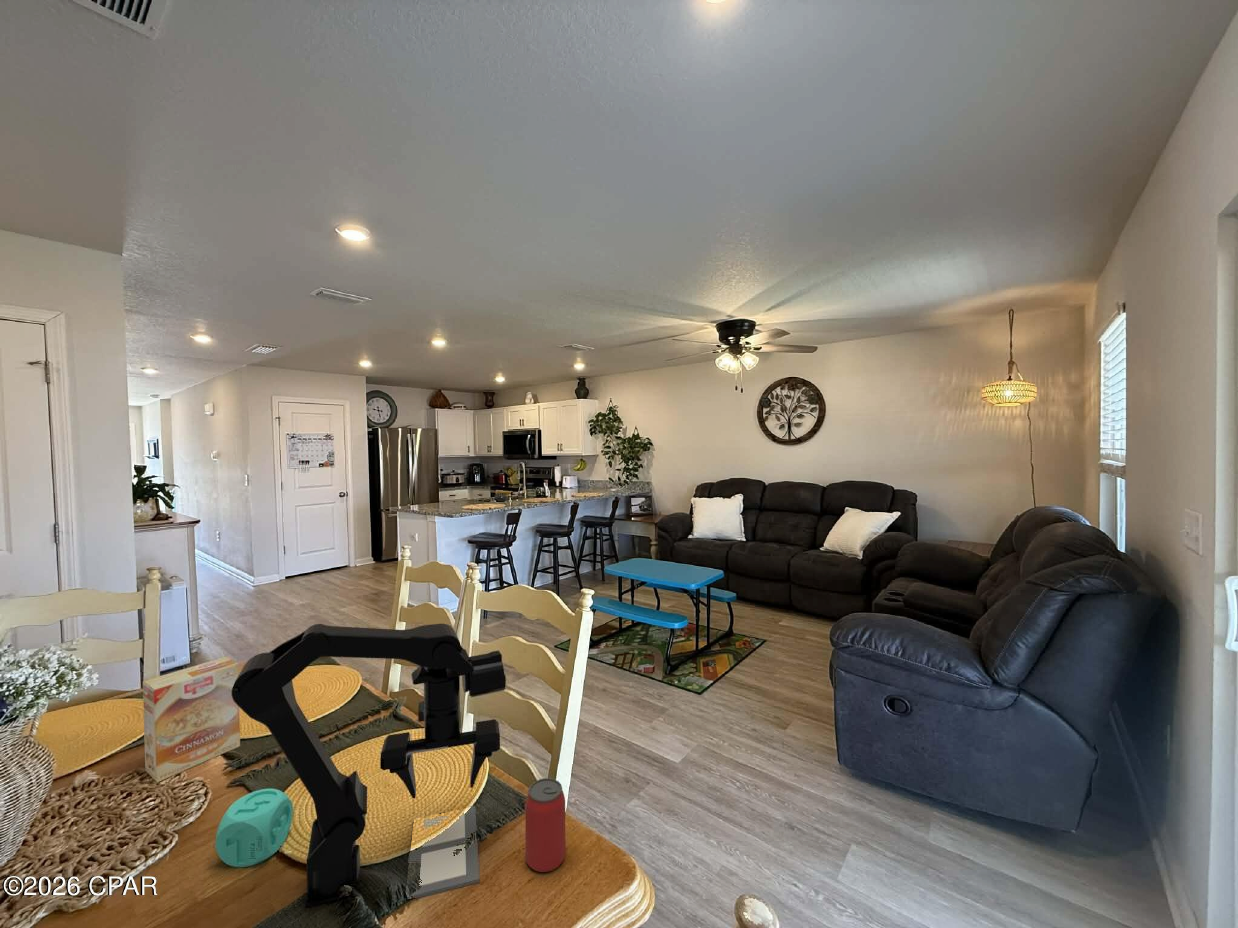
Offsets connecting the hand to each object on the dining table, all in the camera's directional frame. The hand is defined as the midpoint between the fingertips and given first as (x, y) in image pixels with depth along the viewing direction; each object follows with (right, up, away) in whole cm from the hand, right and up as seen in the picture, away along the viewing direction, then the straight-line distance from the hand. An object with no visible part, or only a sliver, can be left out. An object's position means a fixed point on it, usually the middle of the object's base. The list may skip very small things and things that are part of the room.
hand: (443, 791), depth 87 cm
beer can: (+18, -10, -1) cm, 21 cm away
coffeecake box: (-63, -9, +25) cm, 68 cm away
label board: (0, -10, 0) cm, 10 cm away
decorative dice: (-32, -10, 0) cm, 34 cm away
